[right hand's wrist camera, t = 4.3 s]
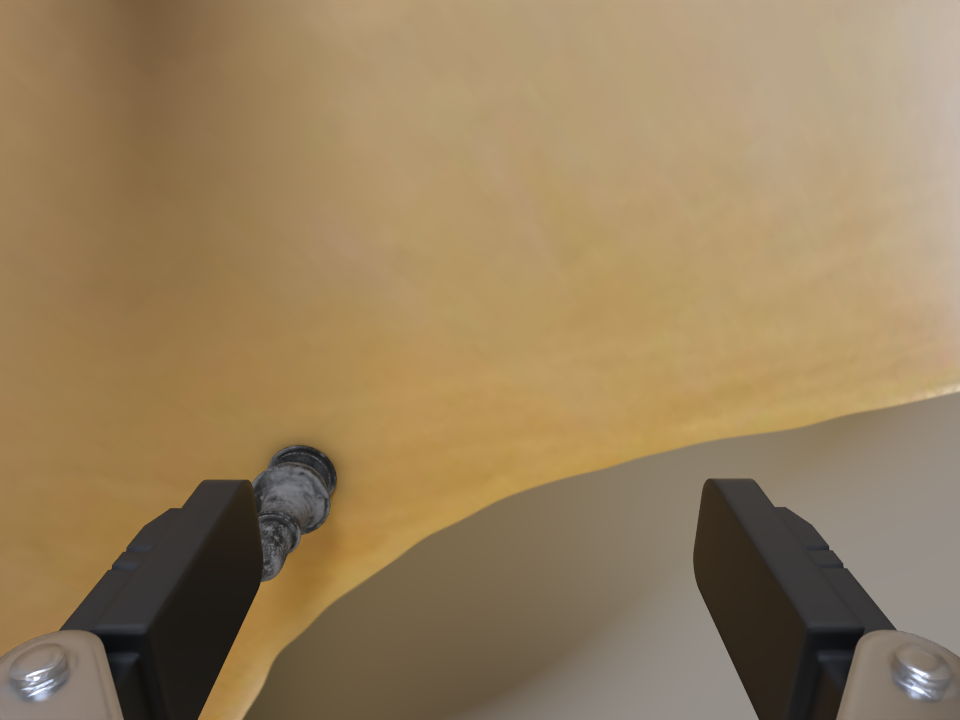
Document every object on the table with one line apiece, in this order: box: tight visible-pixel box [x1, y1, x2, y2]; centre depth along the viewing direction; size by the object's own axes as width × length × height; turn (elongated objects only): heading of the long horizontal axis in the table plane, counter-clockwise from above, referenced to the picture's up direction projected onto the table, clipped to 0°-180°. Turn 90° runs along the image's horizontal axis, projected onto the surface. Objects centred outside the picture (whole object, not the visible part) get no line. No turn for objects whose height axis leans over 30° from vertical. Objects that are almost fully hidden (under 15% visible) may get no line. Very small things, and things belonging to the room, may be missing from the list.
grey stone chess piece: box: [252, 446, 336, 582], centre depth 44 cm, size 6×6×12 cm
